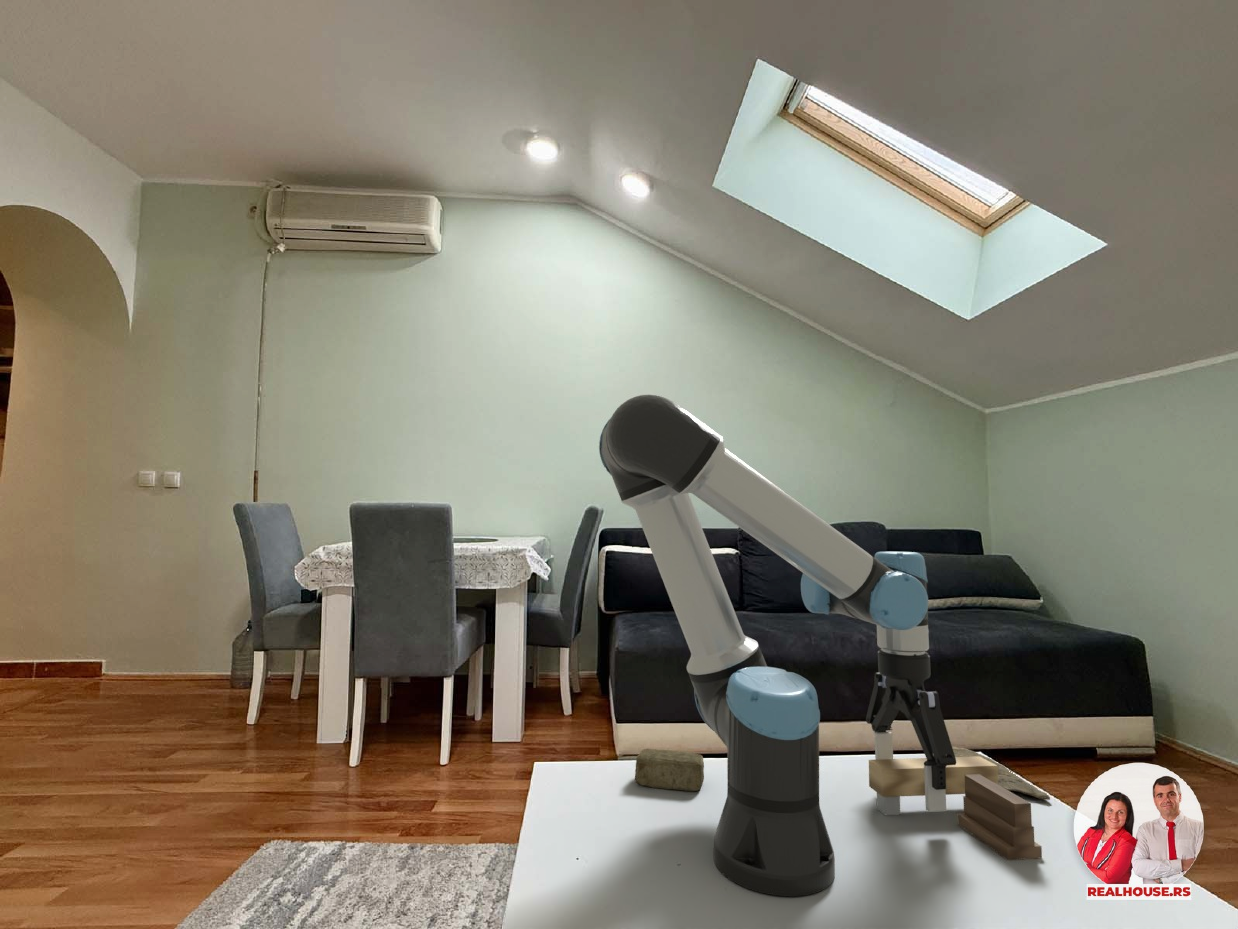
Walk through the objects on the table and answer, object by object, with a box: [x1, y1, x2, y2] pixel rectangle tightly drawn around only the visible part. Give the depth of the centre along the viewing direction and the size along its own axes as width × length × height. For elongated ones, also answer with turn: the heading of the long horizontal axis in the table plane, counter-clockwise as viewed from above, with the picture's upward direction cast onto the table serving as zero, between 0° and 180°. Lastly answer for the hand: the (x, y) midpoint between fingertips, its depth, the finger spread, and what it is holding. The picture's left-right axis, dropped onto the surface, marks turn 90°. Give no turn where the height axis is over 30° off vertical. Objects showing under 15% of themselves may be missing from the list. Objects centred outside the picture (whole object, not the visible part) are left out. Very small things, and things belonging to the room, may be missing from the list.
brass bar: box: [868, 756, 998, 797], centre depth 99 cm, size 19×4×4 cm, turn 97°
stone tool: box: [933, 743, 1051, 801], centre depth 114 cm, size 11×3×25 cm
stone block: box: [634, 748, 705, 792], centre depth 107 cm, size 6×12×5 cm, turn 79°
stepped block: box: [957, 774, 1043, 861], centre depth 90 cm, size 5×10×7 cm, turn 8°
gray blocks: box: [876, 792, 901, 816], centre depth 99 cm, size 17×2×3 cm, turn 97°
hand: (908, 791), depth 99 cm, fingers open, 13 cm apart
